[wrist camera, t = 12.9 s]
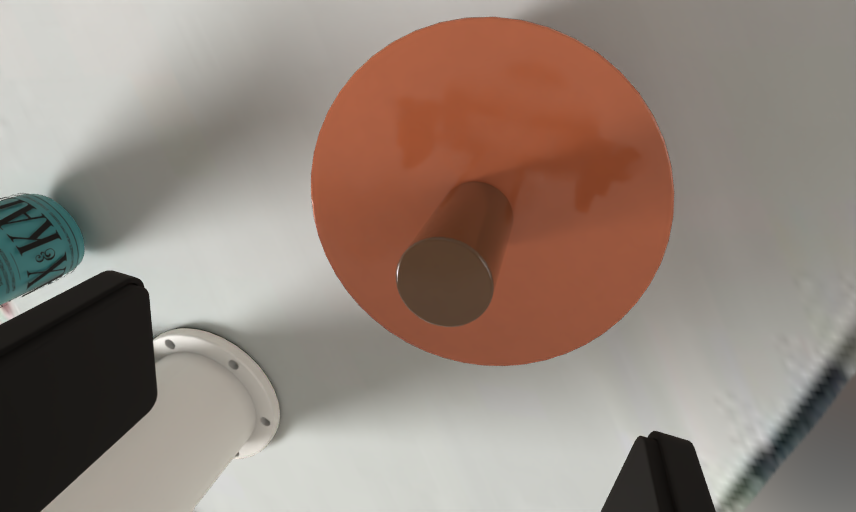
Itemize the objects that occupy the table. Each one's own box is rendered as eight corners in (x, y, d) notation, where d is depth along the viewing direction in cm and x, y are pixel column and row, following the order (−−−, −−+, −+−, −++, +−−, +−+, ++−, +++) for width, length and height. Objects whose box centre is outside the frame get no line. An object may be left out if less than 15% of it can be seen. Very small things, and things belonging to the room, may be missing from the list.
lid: (314, 301, 22) (227, 395, 17) (338, -15, 17) (218, -37, 11) (598, 385, 20) (609, 523, 15) (735, 60, 15) (840, 80, 9)
